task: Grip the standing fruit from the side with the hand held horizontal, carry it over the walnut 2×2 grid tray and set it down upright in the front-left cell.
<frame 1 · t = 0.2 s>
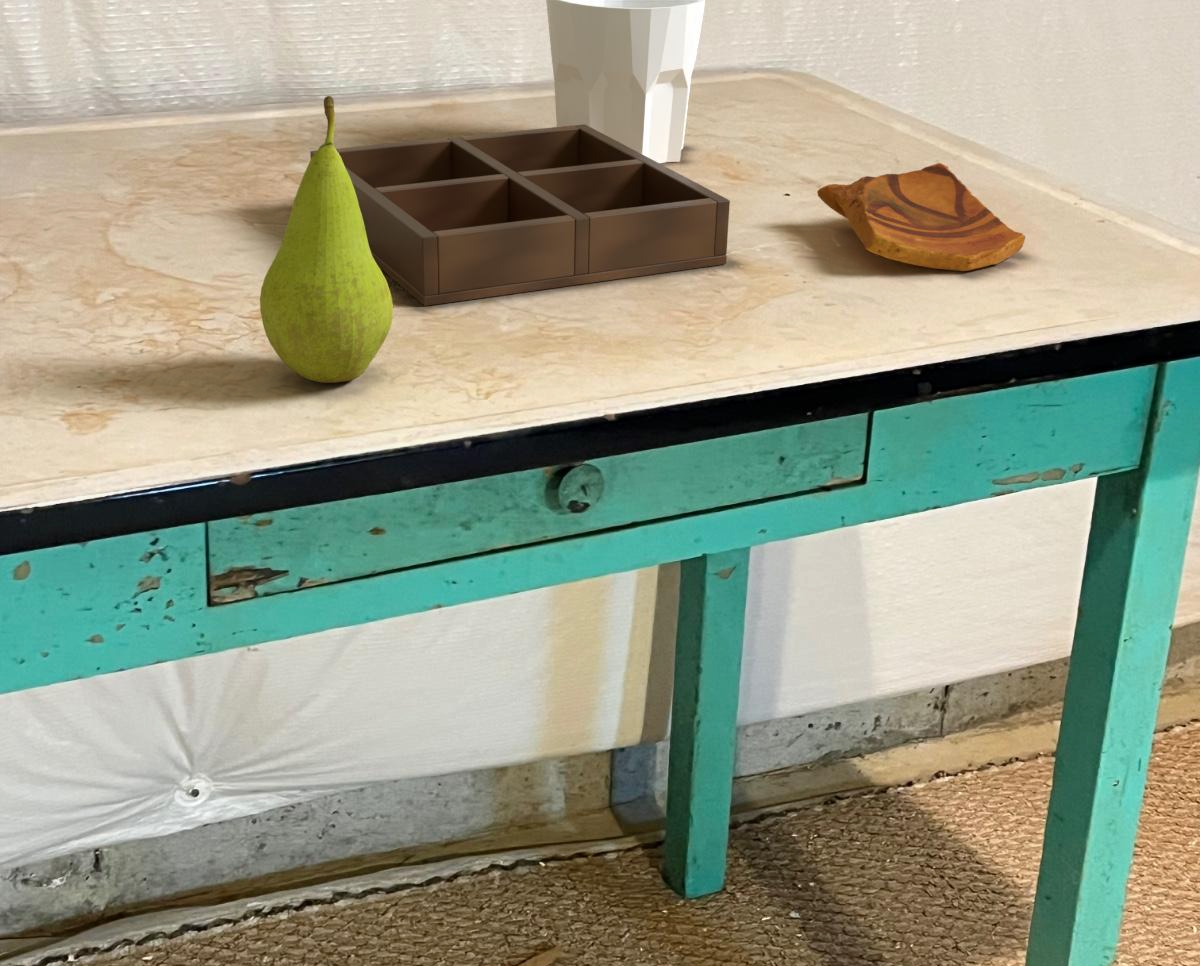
fruit: (331, 383, 76), on the table
cup: (621, 154, 111), on the table
grid: (512, 236, 95), on the table
pottery fragment: (912, 250, 95), on the table
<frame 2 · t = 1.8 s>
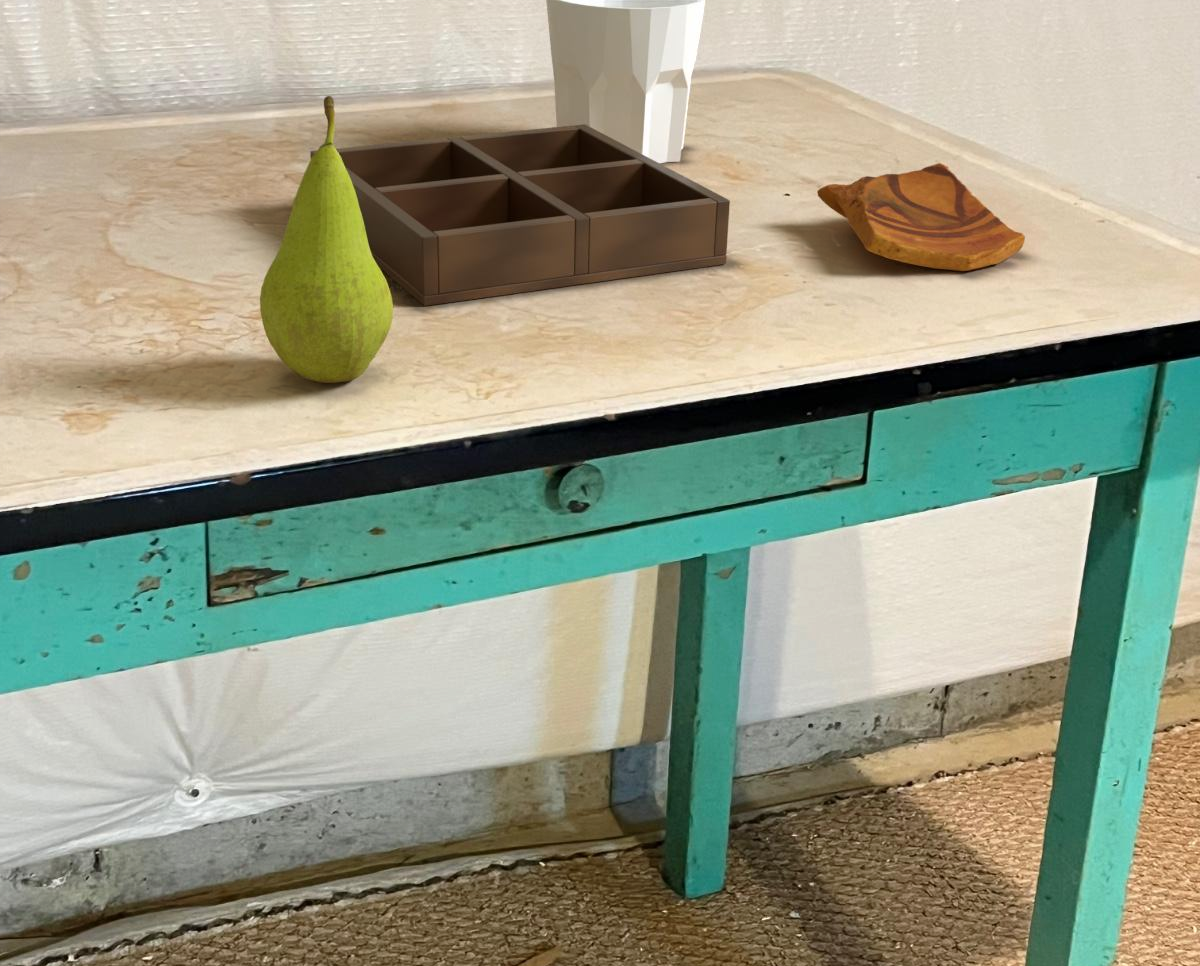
nothing on the table moved.
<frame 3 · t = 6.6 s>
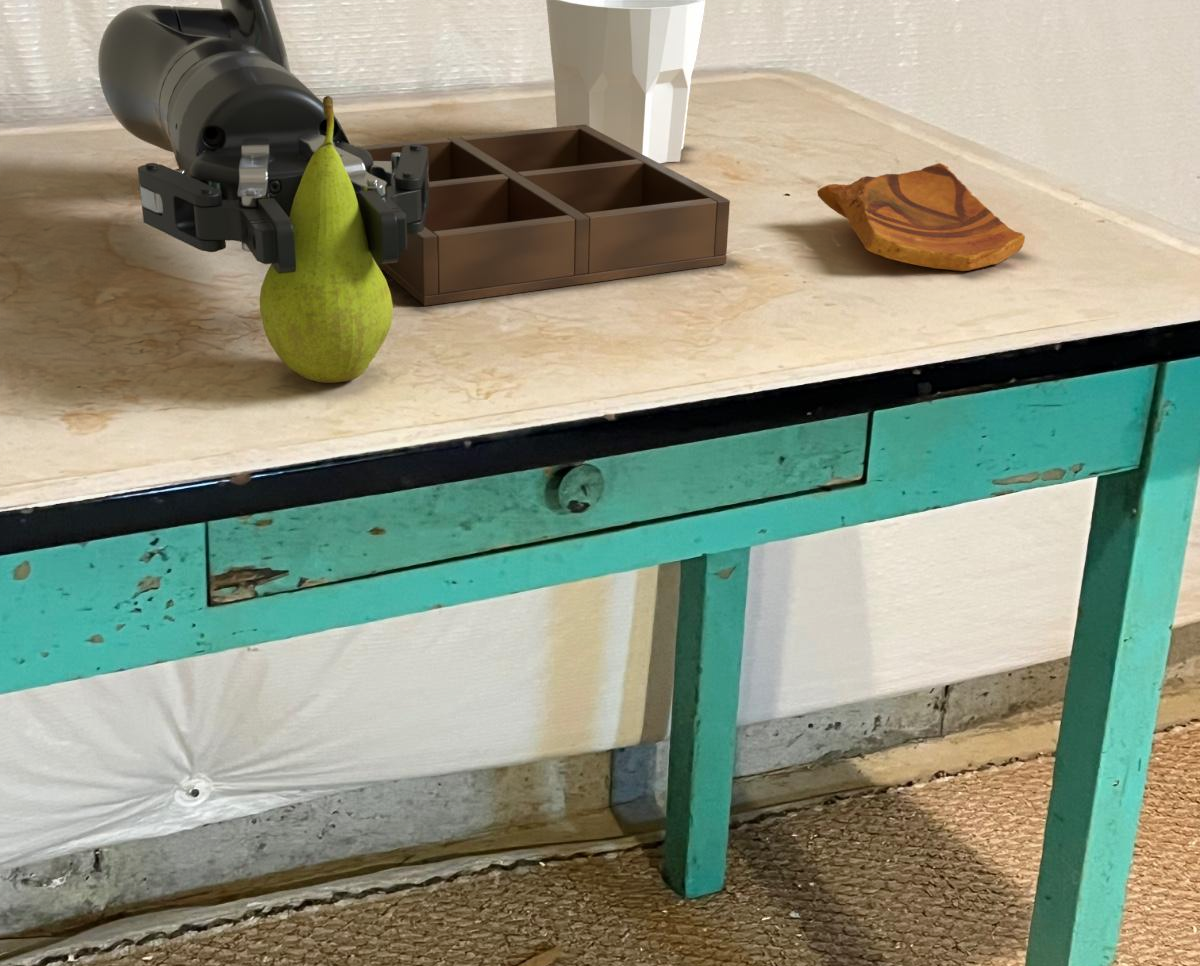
hand: (339, 244, 70), 7 cm above the table, tool horizontal, fingers closed on fruit, 3 cm apart
fruit: (331, 383, 76), on the table, touching gripper
everything else where it was.
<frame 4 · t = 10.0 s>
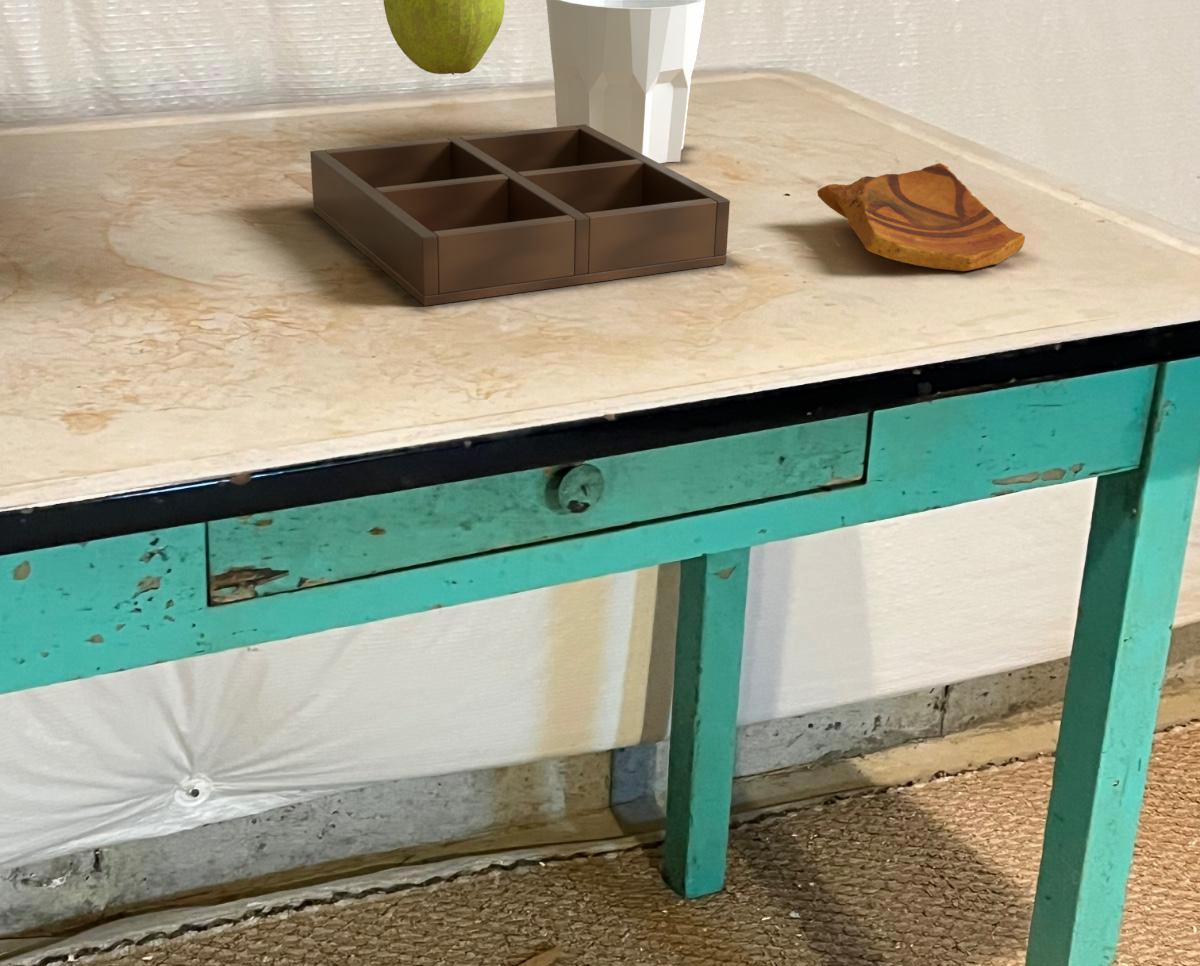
fruit: (445, 77, 82), point 10 cm above the table, touching gripper
everything else where it was.
when the fingers open (8 cm above the table, at t = 13.4 s): fruit stays where it is, resting on grid.
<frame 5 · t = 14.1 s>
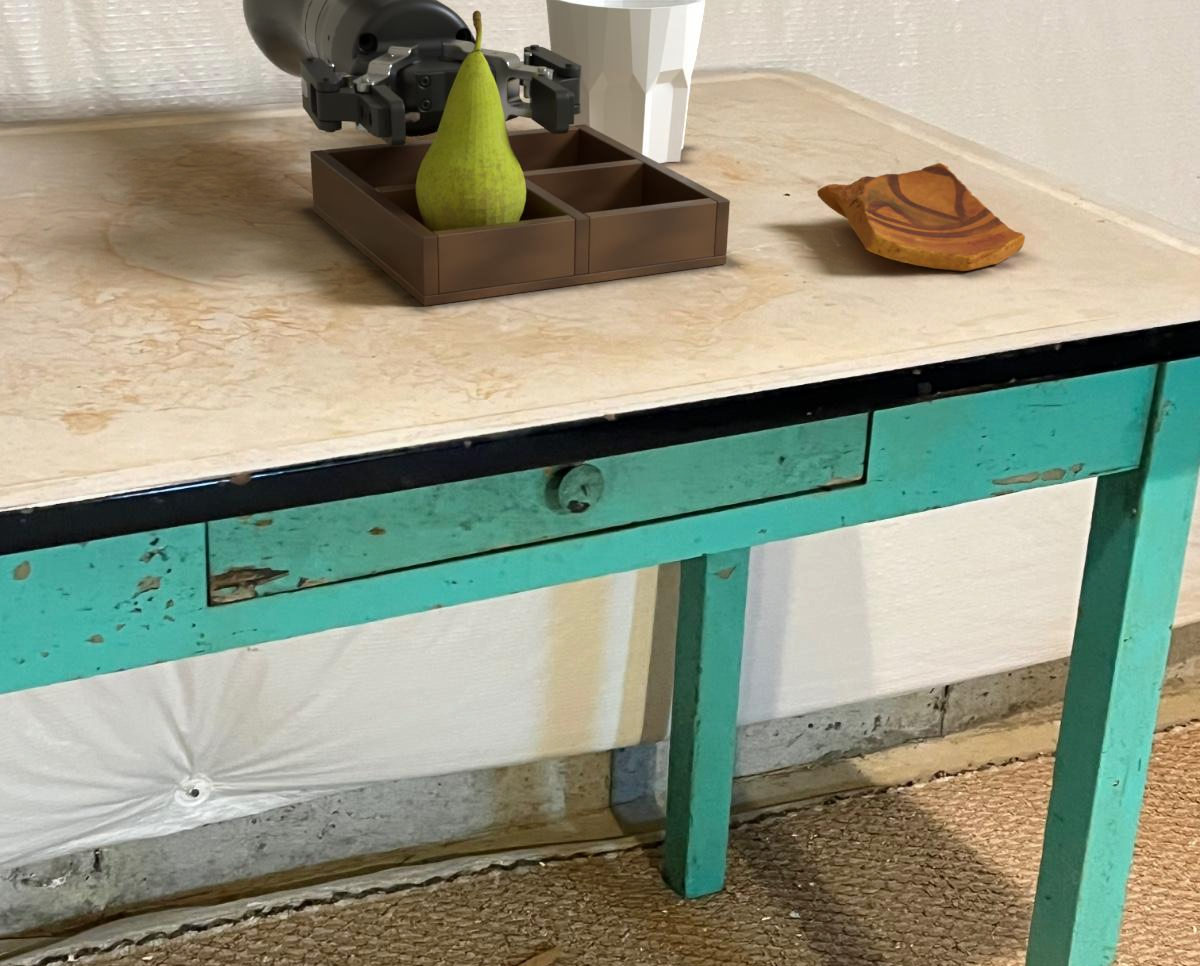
hand: (482, 119, 84), 8 cm above the table, tool horizontal, fingers open, 8 cm apart
fruit: (472, 257, 90), point 1 cm above the table, touching grid
everything else where it was.
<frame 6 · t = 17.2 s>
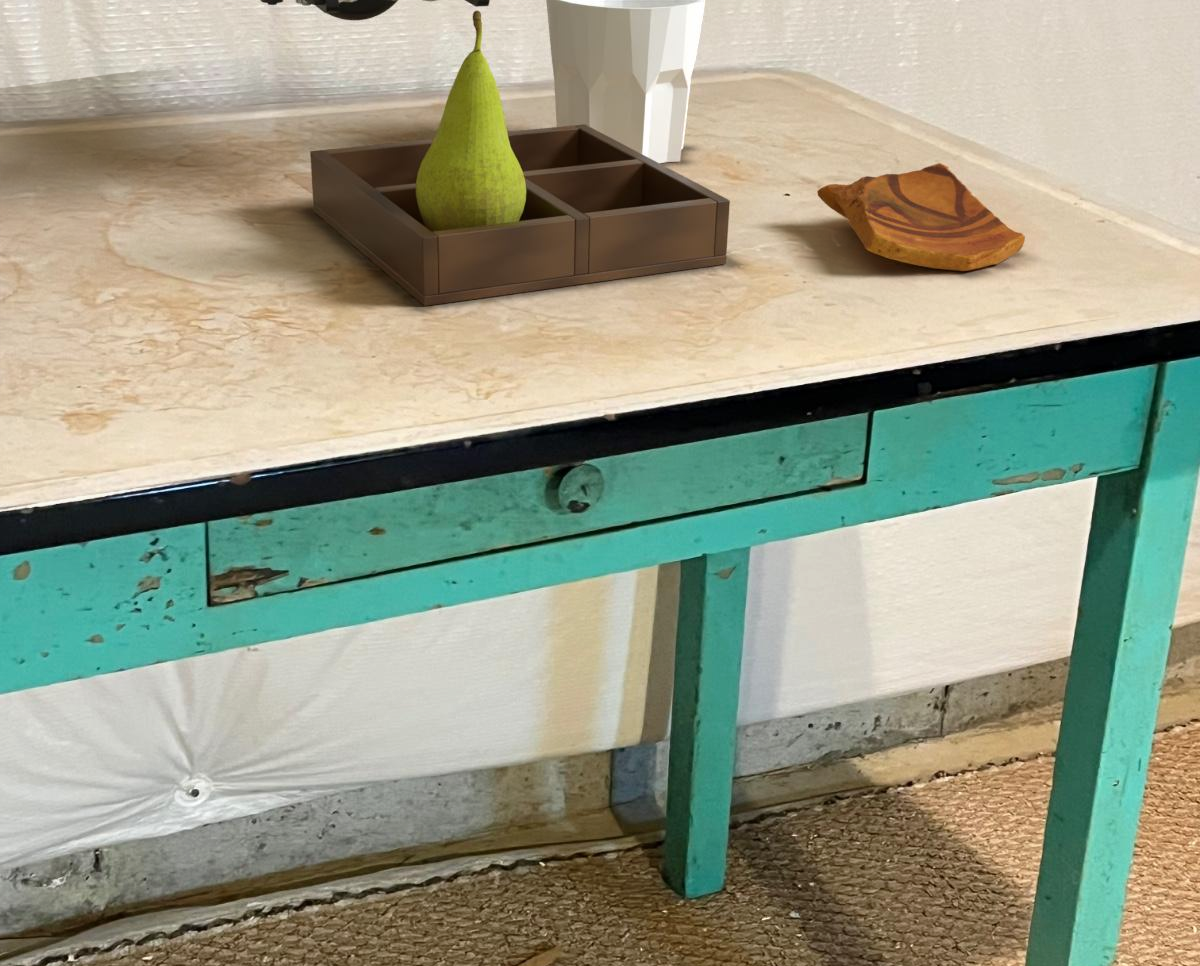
nothing on the table moved.
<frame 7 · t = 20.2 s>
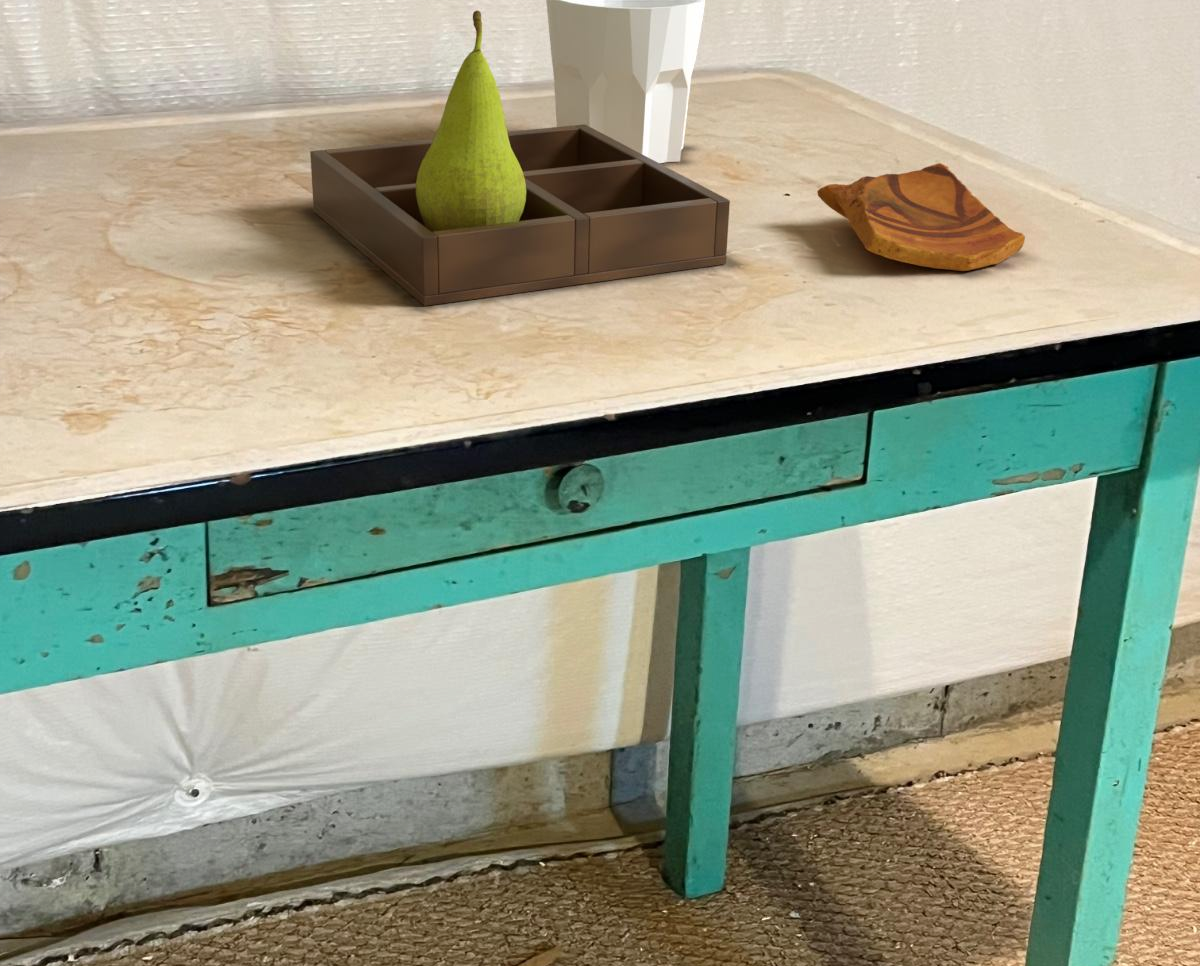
nothing on the table moved.
at the end: fruit inside the target area in the grid (0.2 cm from its centre), point 0.5 cm above the grid's base; fruit tilted 0°; the gripper is holding nothing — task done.
